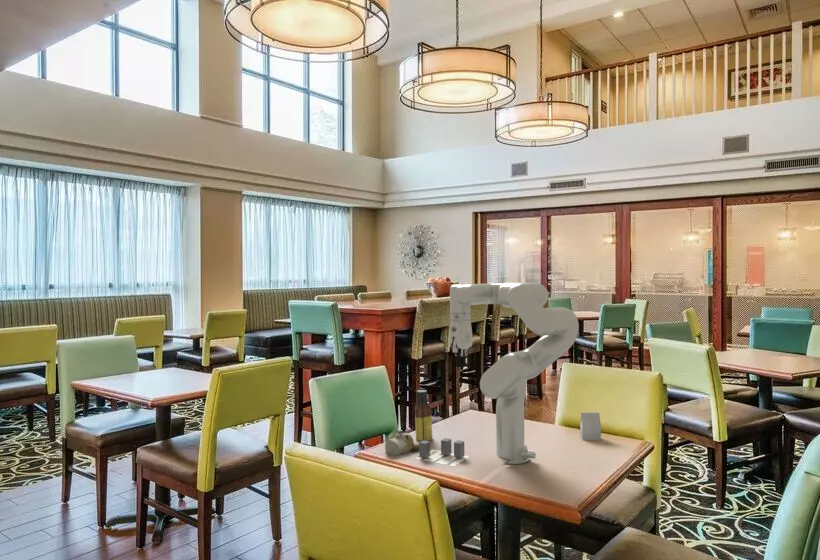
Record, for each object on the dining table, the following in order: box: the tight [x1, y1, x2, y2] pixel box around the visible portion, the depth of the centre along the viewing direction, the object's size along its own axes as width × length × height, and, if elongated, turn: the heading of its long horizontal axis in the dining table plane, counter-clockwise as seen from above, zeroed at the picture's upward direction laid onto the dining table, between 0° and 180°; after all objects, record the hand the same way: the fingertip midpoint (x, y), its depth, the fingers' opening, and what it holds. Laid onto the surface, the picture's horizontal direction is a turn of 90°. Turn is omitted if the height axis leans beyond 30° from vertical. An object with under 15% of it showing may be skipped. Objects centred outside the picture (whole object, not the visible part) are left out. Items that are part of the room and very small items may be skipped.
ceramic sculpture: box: [384, 430, 419, 456], centre depth 201 cm, size 11×9×15 cm
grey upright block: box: [579, 412, 602, 441], centre depth 216 cm, size 4×7×10 cm, turn 87°
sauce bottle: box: [414, 389, 433, 442], centre depth 214 cm, size 6×6×20 cm
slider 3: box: [453, 439, 465, 458], centre depth 192 cm, size 2×3×5 cm
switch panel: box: [414, 449, 470, 467], centre depth 192 cm, size 15×11×2 cm
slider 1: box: [418, 440, 431, 459], centre depth 192 cm, size 2×3×5 cm
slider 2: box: [440, 437, 453, 456], centre depth 195 cm, size 2×3×5 cm
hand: (460, 366), depth 211 cm, fingers closed
